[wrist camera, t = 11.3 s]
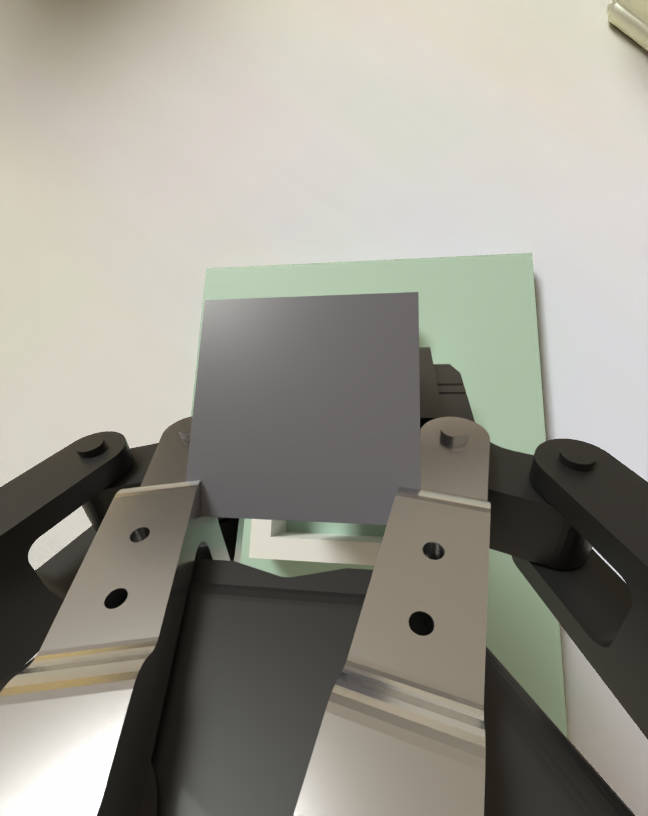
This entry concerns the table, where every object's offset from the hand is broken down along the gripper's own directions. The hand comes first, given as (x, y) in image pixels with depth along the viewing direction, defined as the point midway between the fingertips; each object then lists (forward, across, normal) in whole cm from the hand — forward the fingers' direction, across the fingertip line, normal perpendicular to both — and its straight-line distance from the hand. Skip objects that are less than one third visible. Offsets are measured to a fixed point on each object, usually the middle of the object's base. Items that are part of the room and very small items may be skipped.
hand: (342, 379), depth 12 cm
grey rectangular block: (+2, 0, +5) cm, 5 cm away
